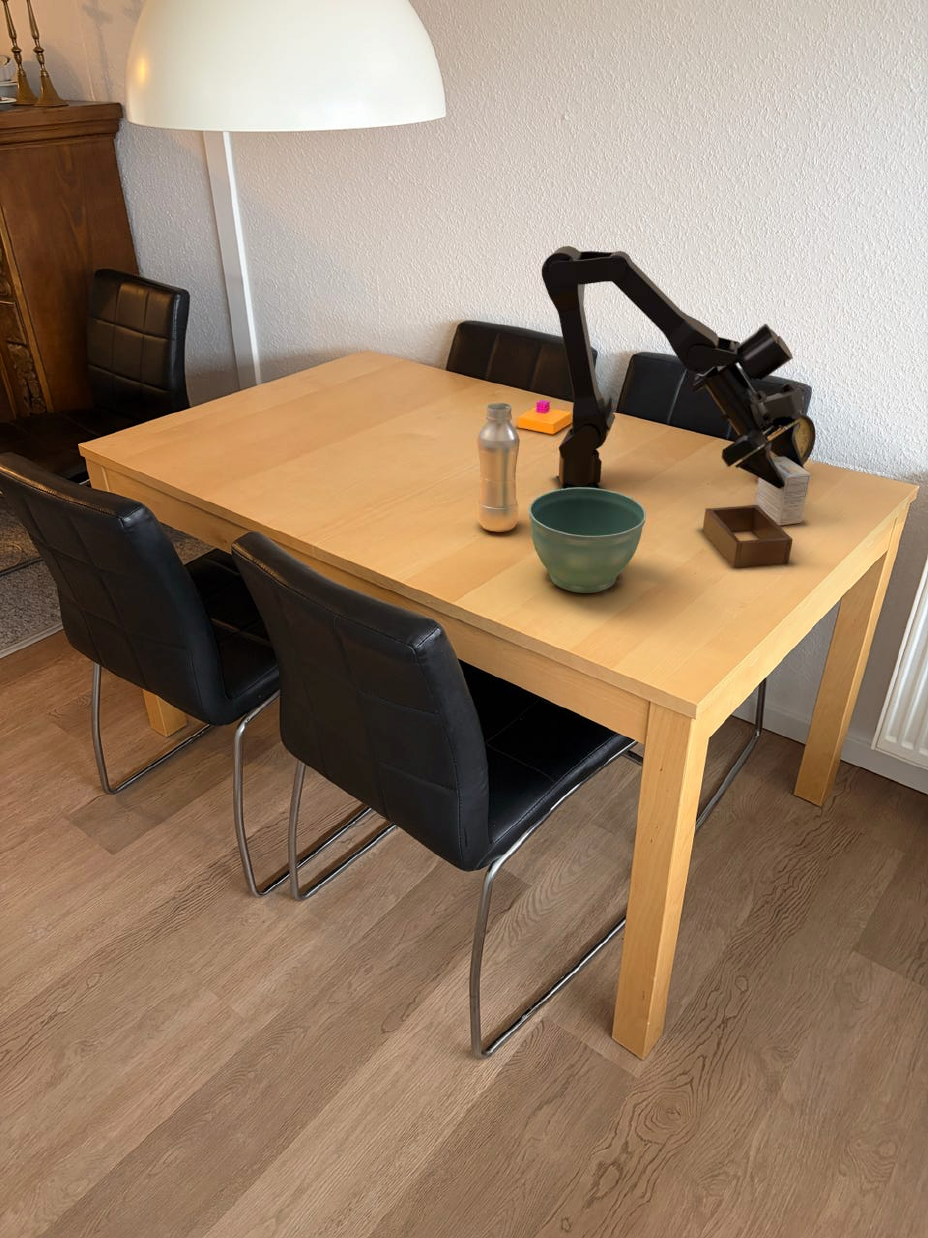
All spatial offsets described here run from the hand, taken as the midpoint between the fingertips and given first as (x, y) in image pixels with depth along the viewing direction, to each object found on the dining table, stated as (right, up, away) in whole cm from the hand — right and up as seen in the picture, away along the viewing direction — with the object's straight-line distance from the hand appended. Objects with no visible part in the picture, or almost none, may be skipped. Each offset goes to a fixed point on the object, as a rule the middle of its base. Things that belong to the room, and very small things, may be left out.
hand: (792, 479), depth 155 cm
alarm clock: (+4, +3, +19) cm, 19 cm away
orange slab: (-36, +20, +42) cm, 59 cm away
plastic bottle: (-47, -8, +1) cm, 48 cm away
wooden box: (-9, -11, -6) cm, 16 cm away
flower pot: (-35, -17, -14) cm, 41 cm away
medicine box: (-1, -5, +4) cm, 7 cm away
